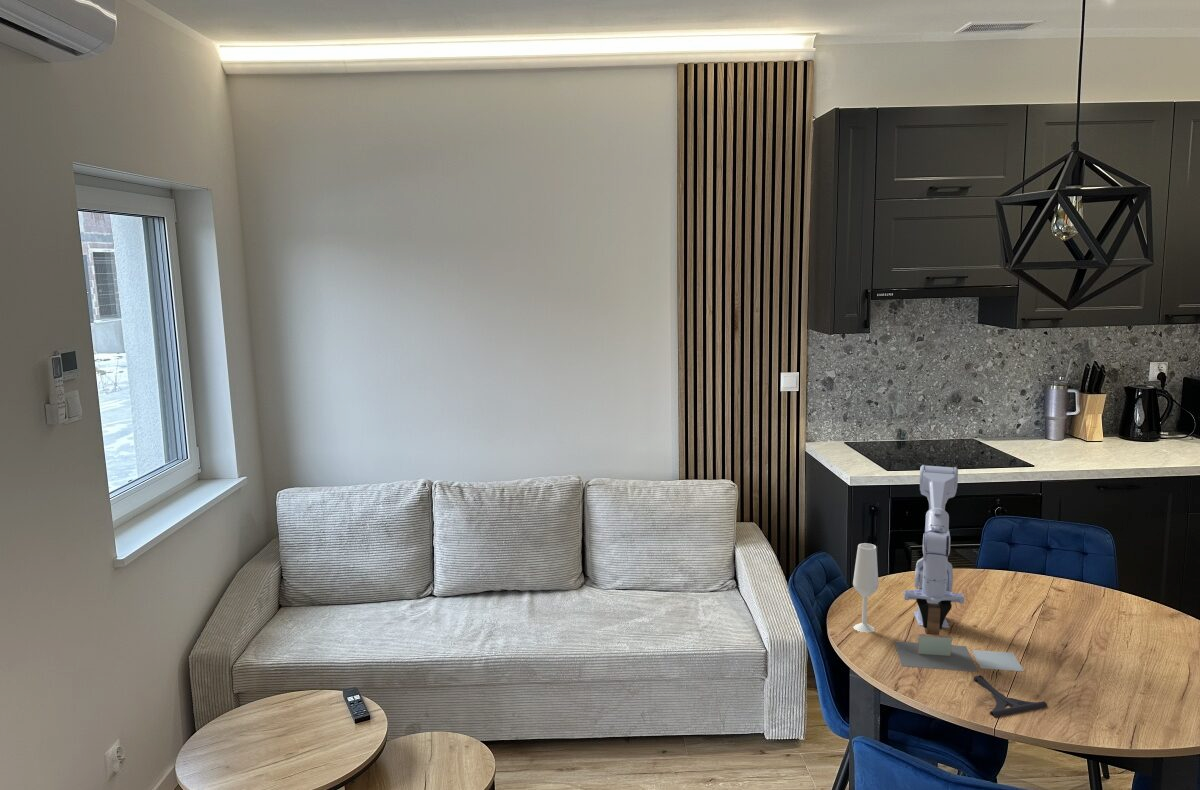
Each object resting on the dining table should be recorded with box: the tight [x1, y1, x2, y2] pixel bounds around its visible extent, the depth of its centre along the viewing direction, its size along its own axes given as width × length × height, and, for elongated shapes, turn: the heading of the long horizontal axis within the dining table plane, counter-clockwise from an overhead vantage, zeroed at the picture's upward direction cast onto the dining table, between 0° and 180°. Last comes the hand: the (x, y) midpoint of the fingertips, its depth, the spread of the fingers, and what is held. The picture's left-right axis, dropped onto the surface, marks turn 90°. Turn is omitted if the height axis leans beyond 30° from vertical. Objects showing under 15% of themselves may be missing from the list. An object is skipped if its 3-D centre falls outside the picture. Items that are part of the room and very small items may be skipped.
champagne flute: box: [852, 542, 879, 634], centre depth 235 cm, size 7×7×24 cm
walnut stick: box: [924, 603, 941, 635], centre depth 224 cm, size 3×3×8 cm
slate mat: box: [894, 640, 979, 673], centre depth 220 cm, size 14×18×1 cm
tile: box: [917, 633, 953, 656], centre depth 221 cm, size 1×8×5 cm, turn 79°
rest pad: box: [971, 649, 1025, 672], centre depth 217 cm, size 10×10×1 cm
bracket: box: [973, 674, 1048, 718], centre depth 201 cm, size 14×15×3 cm
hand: (932, 626), depth 224 cm, fingers closed on walnut stick, 3 cm apart
